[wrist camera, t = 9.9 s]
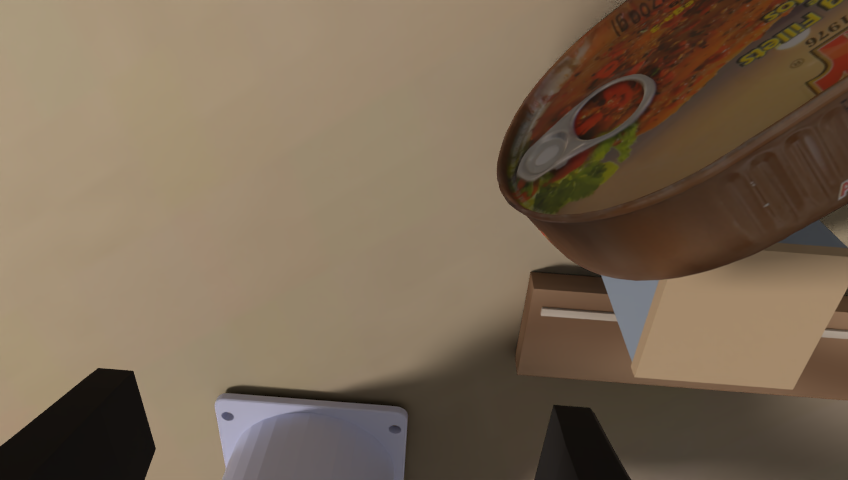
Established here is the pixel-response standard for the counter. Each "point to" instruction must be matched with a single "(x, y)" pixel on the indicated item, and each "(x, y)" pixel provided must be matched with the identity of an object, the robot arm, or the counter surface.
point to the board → (607, 353)
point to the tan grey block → (736, 314)
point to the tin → (685, 135)
